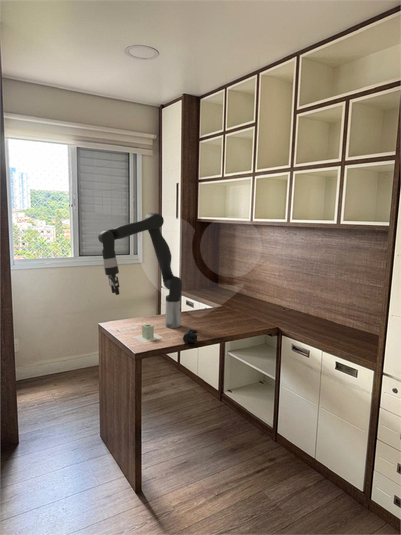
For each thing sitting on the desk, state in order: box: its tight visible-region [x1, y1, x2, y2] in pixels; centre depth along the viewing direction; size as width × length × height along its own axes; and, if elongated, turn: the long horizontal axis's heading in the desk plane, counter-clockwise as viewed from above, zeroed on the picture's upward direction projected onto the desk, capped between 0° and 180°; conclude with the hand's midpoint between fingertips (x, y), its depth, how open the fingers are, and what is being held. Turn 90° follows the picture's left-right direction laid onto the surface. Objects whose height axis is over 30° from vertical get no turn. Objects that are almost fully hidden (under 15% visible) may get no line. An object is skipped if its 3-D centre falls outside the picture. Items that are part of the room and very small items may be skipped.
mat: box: [116, 325, 139, 332], centre depth 225 cm, size 14×14×1 cm
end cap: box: [182, 328, 198, 346], centre depth 208 cm, size 10×7×7 cm
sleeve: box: [141, 323, 155, 339], centre depth 210 cm, size 5×5×7 cm
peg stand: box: [132, 332, 164, 344], centre depth 210 cm, size 14×12×8 cm
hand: (115, 293), depth 208 cm, fingers open, 8 cm apart
